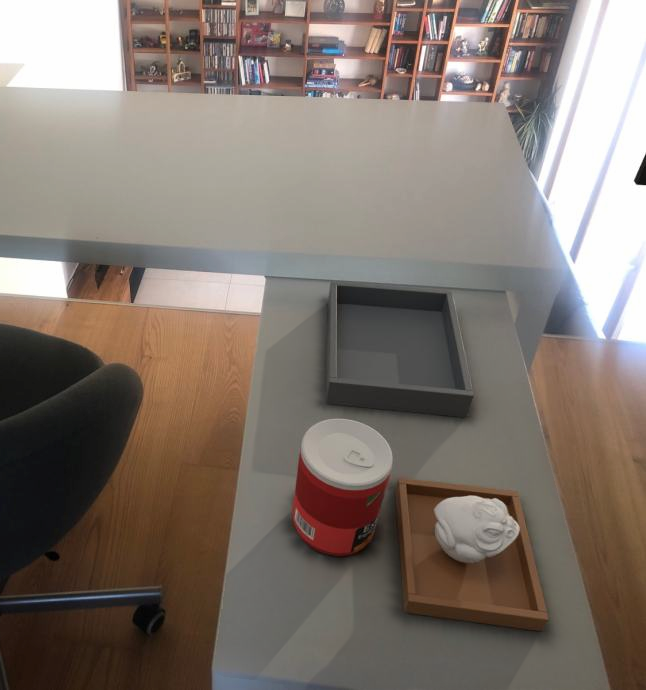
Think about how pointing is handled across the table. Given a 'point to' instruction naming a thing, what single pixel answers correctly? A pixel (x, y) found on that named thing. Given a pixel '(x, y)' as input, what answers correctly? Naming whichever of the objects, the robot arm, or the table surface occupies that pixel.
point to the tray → (465, 578)
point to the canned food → (340, 485)
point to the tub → (396, 350)
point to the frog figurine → (474, 527)
